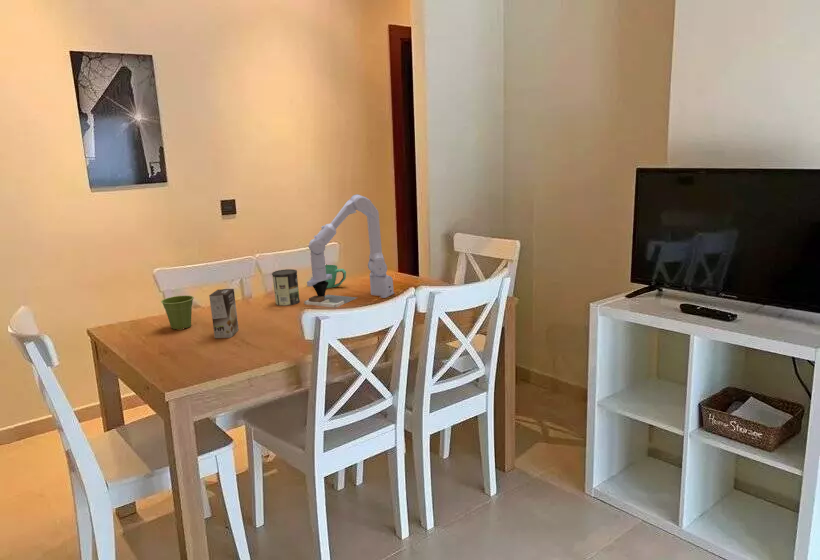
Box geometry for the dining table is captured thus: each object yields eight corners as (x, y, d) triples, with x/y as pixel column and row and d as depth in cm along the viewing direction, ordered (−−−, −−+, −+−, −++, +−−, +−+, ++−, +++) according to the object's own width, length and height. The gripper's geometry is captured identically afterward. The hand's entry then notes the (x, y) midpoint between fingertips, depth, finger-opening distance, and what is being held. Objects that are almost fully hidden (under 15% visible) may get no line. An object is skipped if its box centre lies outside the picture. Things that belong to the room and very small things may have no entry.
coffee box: (231, 337, 229) (226, 294, 226) (214, 338, 230) (208, 295, 226) (239, 329, 238) (234, 288, 235) (222, 330, 239) (216, 289, 235)
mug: (313, 290, 291) (311, 269, 288) (324, 285, 299) (322, 264, 297) (341, 292, 285) (339, 270, 282) (352, 286, 293) (350, 265, 291)
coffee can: (297, 299, 276) (294, 267, 273) (302, 305, 267) (299, 272, 264) (273, 303, 273) (270, 271, 270) (277, 309, 264) (273, 275, 260)
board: (358, 299, 271) (357, 294, 271) (335, 309, 258) (335, 304, 257) (327, 296, 279) (327, 291, 279) (304, 306, 266) (304, 301, 265)
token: (324, 302, 267) (324, 296, 266) (317, 304, 263) (317, 299, 262) (316, 301, 269) (315, 295, 268) (309, 304, 265) (308, 298, 265)
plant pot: (202, 326, 245) (198, 298, 242) (172, 334, 238) (167, 305, 235) (190, 320, 254) (186, 293, 251) (160, 328, 246) (156, 299, 244)
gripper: (321, 263, 274) (324, 294, 277) (299, 270, 261) (303, 302, 265) (334, 264, 270) (337, 295, 273) (313, 271, 258) (316, 304, 261)
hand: (321, 299), depth 269 cm, fingers closed
